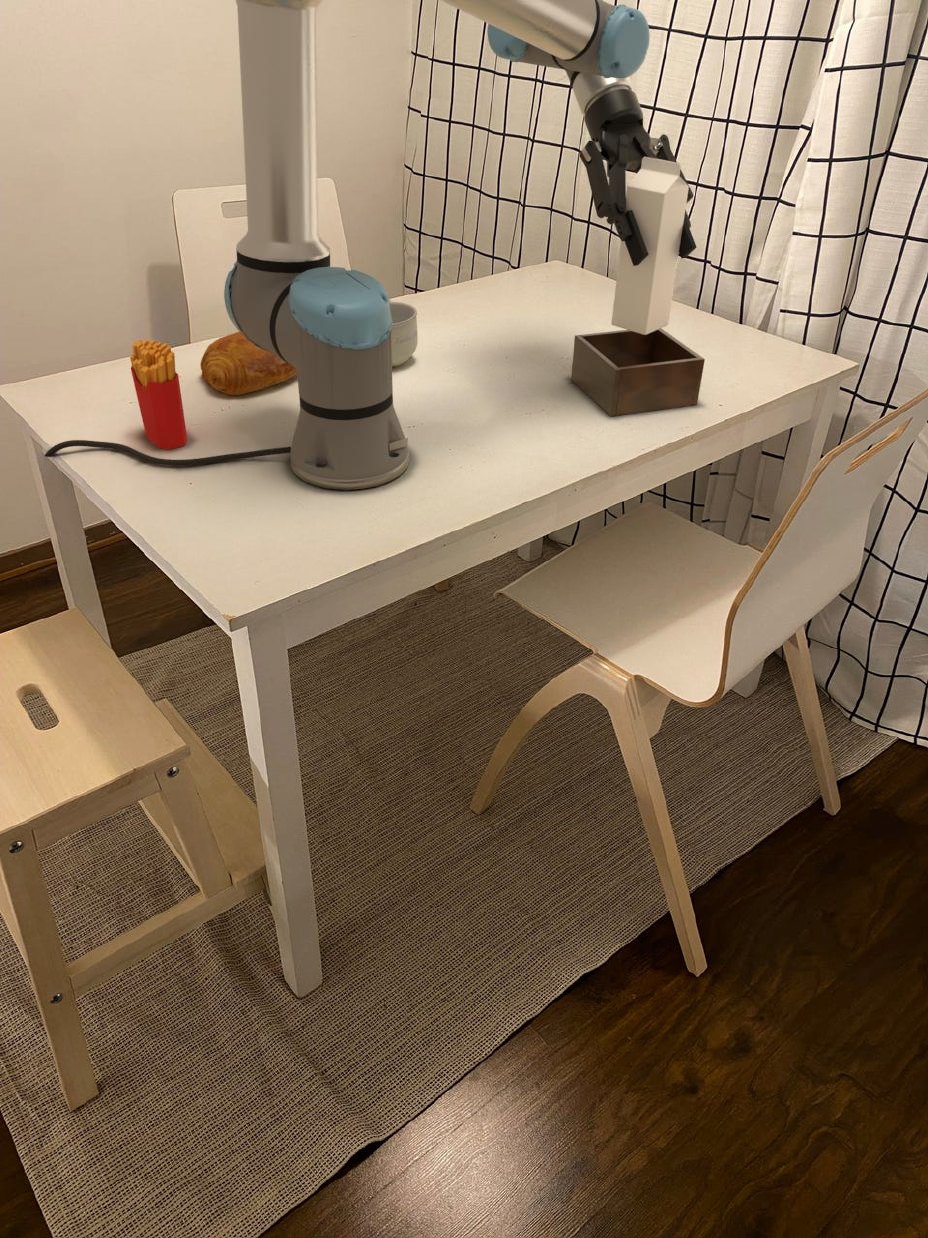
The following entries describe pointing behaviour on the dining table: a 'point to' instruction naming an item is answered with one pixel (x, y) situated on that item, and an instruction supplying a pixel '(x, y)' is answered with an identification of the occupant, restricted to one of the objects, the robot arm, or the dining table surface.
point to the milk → (651, 247)
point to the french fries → (158, 393)
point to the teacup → (403, 331)
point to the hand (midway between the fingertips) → (665, 256)
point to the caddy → (636, 371)
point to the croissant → (242, 366)
